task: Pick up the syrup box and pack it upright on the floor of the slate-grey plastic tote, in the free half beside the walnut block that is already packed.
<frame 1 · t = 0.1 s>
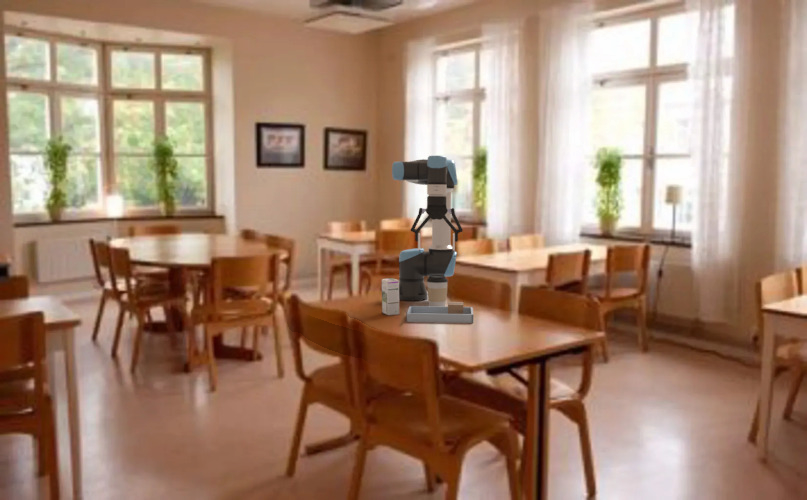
hand: (436, 250, 266), 28 cm above the table, tool pointing down, fingers open, 13 cm apart
walnut block: (455, 318, 268), point 1 cm above the table, touching tote
coffee cup: (437, 310, 290), on the table
syrup box: (390, 314, 281), on the table
tote: (440, 320, 269), on the table
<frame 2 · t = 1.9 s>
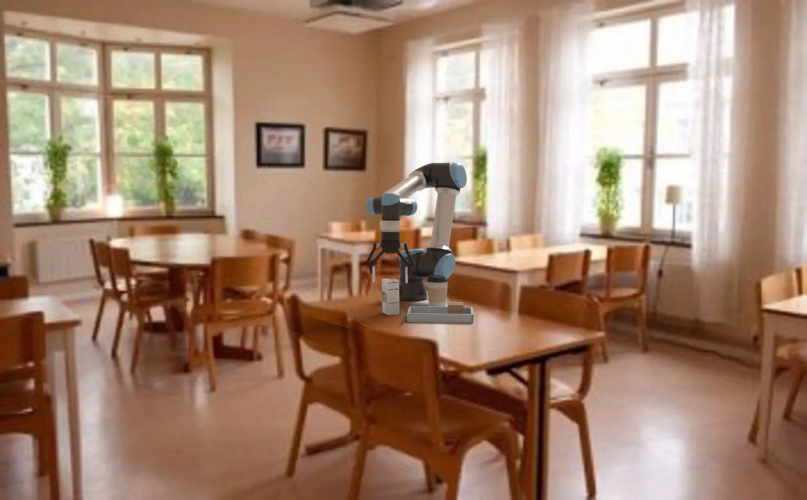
hand: (390, 282, 280), 13 cm above the table, tool pointing down, fingers open, 13 cm apart
nothing on the table moved.
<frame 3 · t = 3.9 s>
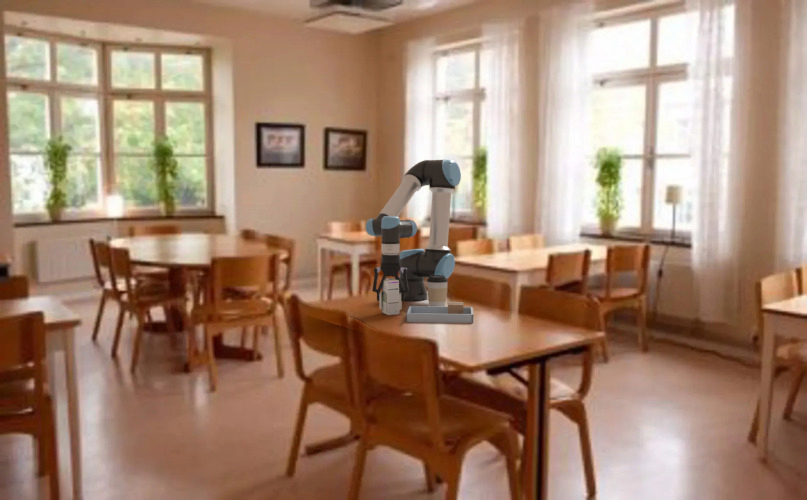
hand: (390, 308, 281), 2 cm above the table, tool pointing down, fingers closed on syrup box, 7 cm apart
syrup box: (390, 314, 281), on the table, touching gripper
everything else where it was.
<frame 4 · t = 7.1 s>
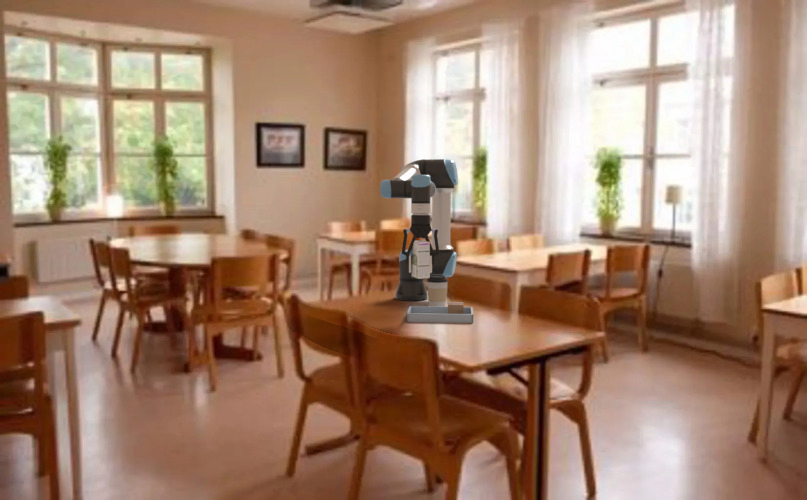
hand: (420, 272, 267), 19 cm above the table, tool pointing down, fingers closed on syrup box, 7 cm apart
syrup box: (420, 278, 267), point 17 cm above the table, touching gripper
everything else where it was.
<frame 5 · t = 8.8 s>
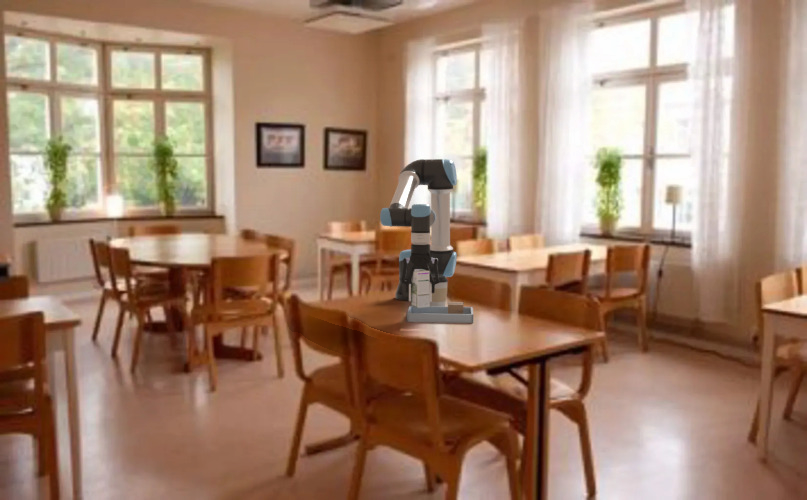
hand: (420, 301, 268), 8 cm above the table, tool pointing down, fingers closed on syrup box, 7 cm apart
syrup box: (420, 306, 269), point 5 cm above the table, touching gripper
everything else where it was.
when the fingers open (5 cm above the table, at t = 10.3 s): syrup box drops 1 cm, resting on tote.
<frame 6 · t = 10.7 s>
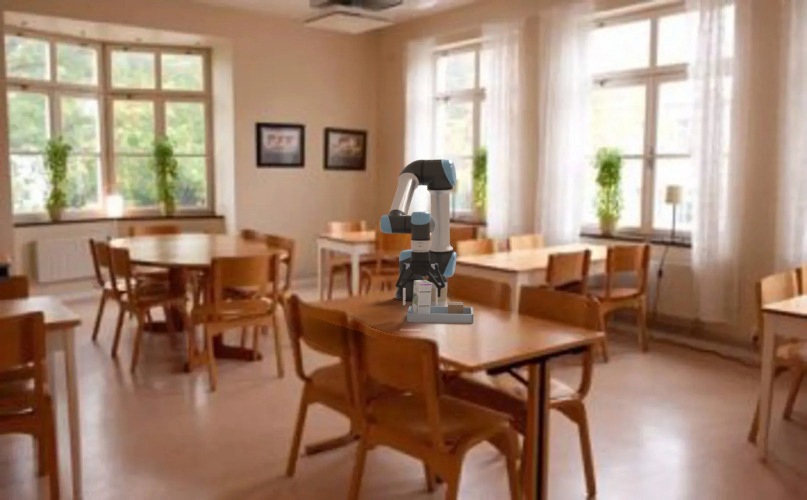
hand: (420, 305, 269), 6 cm above the table, tool pointing down, fingers open, 12 cm apart
syrup box: (420, 317, 269), point 1 cm above the table, touching tote
everything else where it was.
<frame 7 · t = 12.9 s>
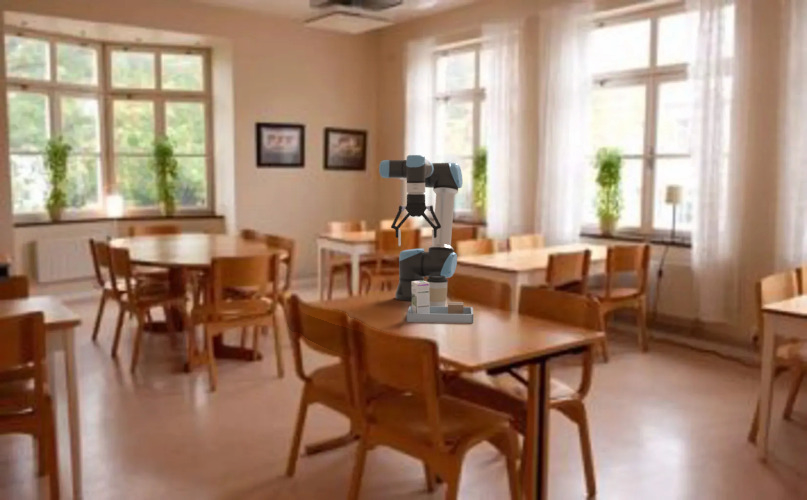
hand: (416, 245, 276), 29 cm above the table, tool pointing down, fingers open, 13 cm apart
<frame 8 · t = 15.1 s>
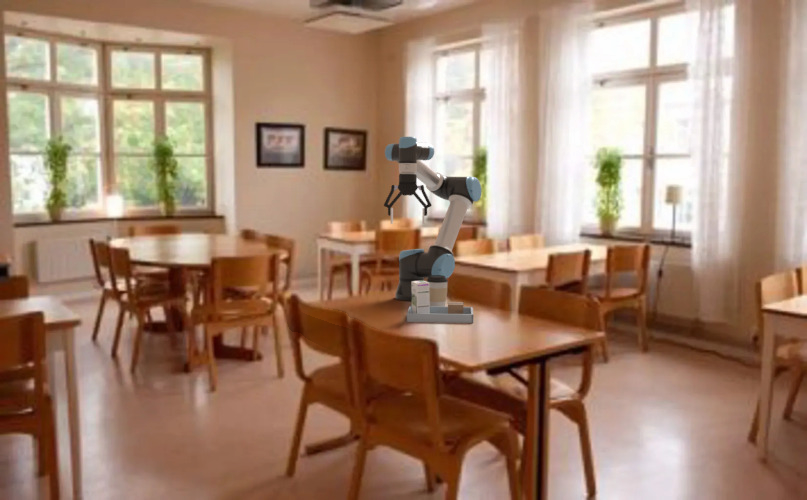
hand: (407, 223, 290), 37 cm above the table, tool pointing down, fingers open, 13 cm apart
nothing on the table moved.
at the end: syrup box inside the target area on the tote (1.2 cm from its centre), point 0.6 cm above the tote's base; syrup box tilted 0°; walnut block moved 0.1 cm from its start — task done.
